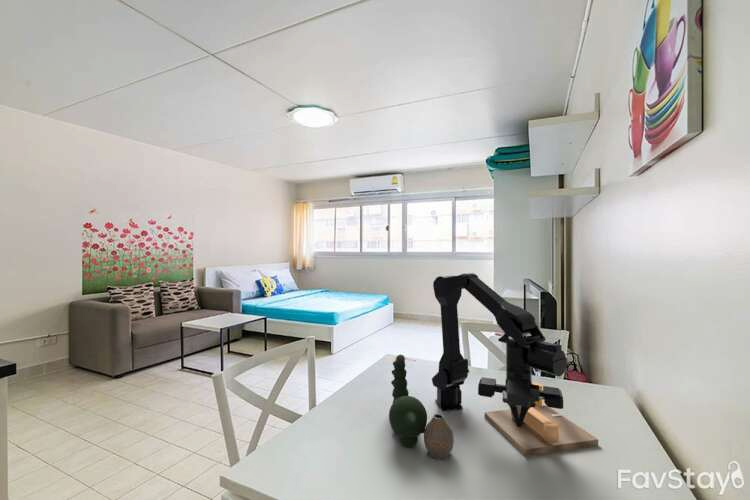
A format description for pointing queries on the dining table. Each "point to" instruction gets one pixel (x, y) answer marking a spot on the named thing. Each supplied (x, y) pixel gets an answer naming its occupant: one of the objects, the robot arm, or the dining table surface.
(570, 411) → the dining table surface
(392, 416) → the toy figurine
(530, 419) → the latch lever
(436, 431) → the vase
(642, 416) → the dining table surface
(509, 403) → the robot arm
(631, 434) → the dining table surface
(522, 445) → the mount plate
